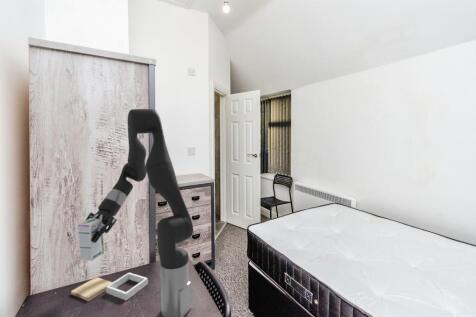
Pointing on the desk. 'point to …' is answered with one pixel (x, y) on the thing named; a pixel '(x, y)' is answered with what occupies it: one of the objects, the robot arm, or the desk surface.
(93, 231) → the syrup box
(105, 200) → the robot arm
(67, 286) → the desk surface
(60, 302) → the desk surface
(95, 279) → the oak board
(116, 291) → the white square frame
